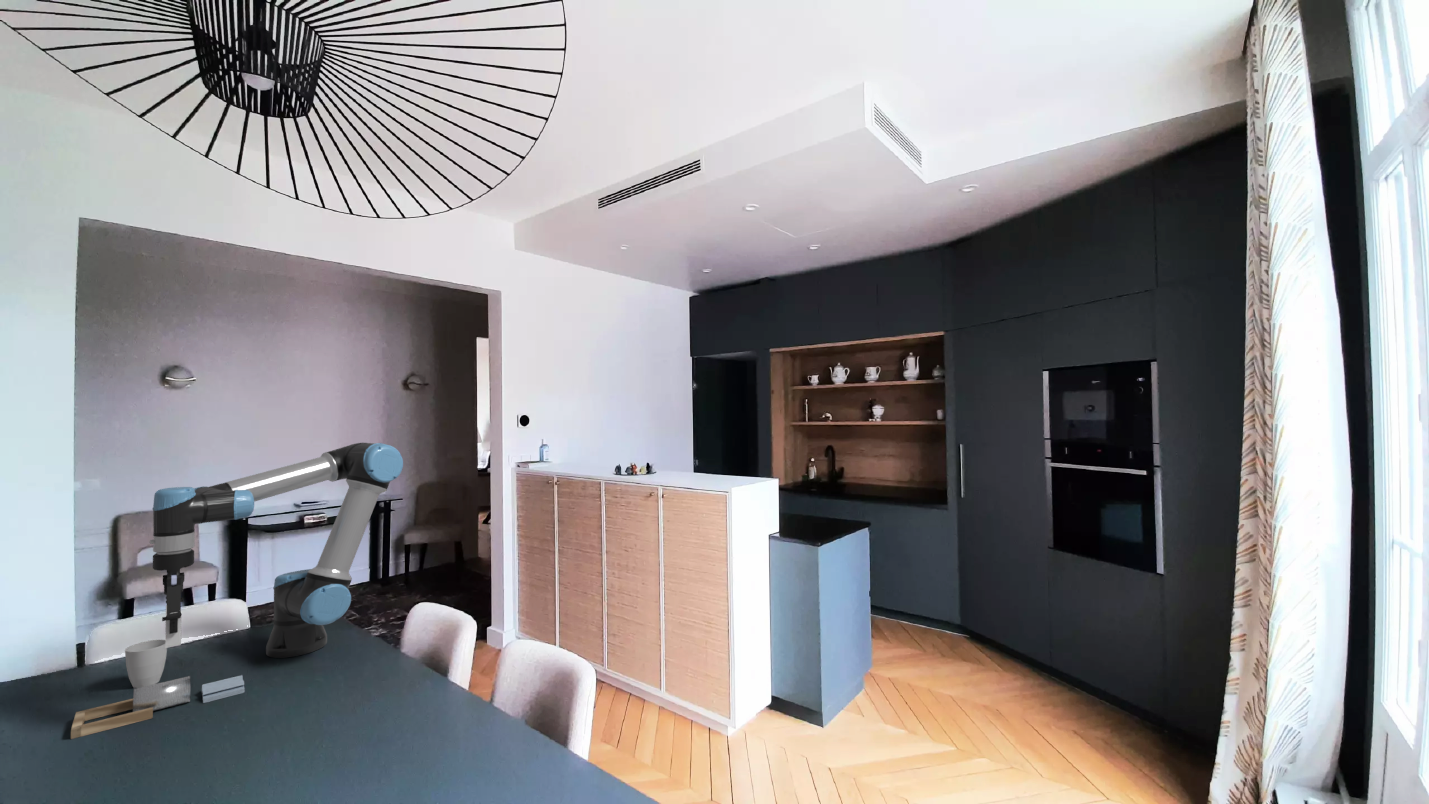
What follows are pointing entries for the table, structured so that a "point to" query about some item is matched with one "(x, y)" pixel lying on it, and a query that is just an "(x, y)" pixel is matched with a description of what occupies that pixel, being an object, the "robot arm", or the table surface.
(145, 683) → the cup
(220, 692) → the v block
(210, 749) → the table surface
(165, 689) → the grey metal cylinder
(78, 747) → the table surface
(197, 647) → the table surface
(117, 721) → the wooden flat frame
